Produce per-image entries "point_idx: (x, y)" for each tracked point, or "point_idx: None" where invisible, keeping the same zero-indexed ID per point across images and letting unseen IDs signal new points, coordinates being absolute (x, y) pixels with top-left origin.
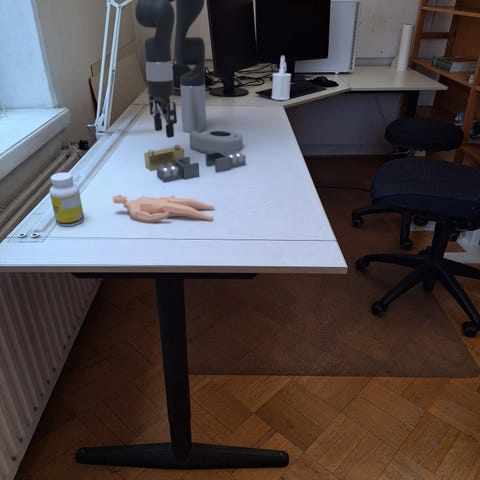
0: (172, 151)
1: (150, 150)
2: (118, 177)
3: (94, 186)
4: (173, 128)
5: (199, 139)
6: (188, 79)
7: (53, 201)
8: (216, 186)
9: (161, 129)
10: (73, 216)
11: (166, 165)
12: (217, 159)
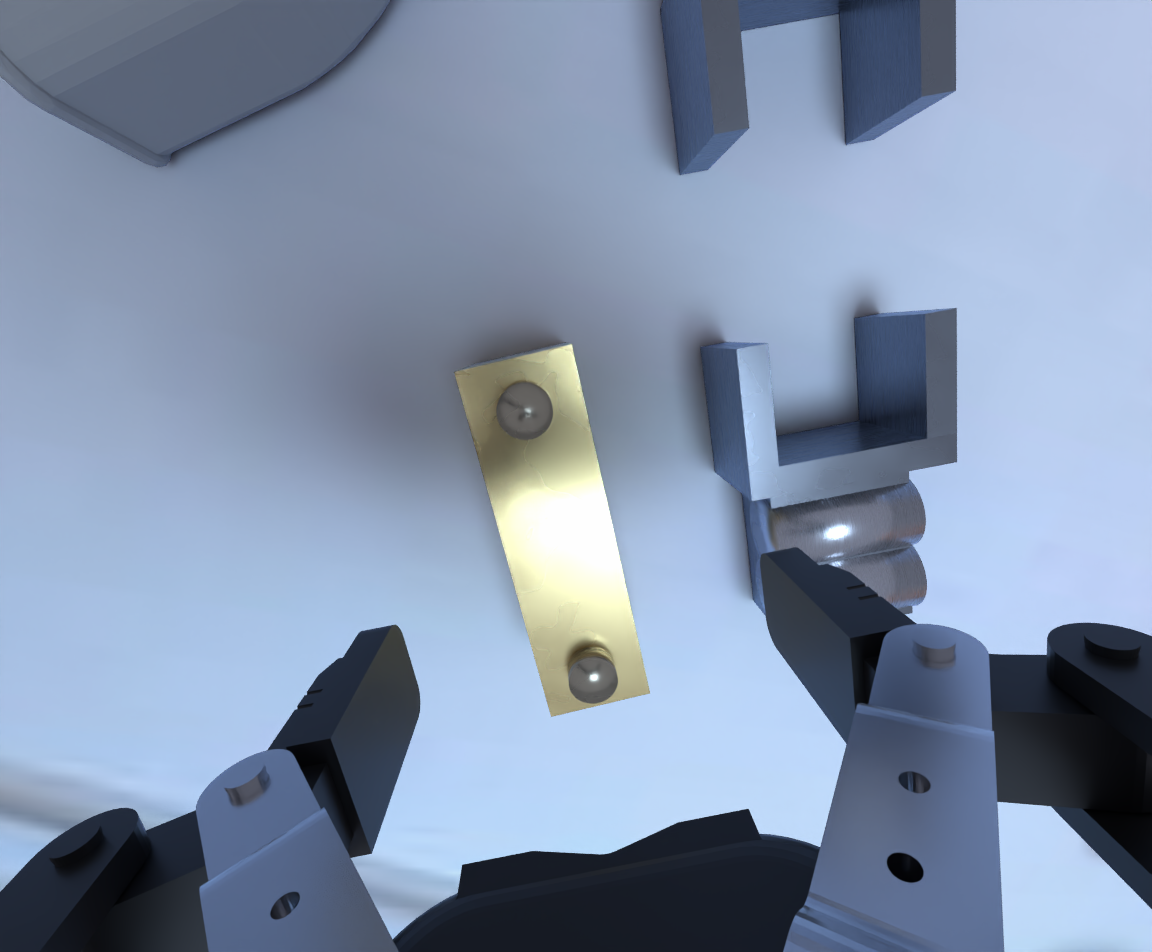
0: (600, 477)
1: (574, 683)
2: (659, 810)
3: None
4: (849, 594)
5: (221, 26)
6: None
7: None
8: (1110, 250)
9: (396, 635)
10: None
11: None
12: (943, 72)
